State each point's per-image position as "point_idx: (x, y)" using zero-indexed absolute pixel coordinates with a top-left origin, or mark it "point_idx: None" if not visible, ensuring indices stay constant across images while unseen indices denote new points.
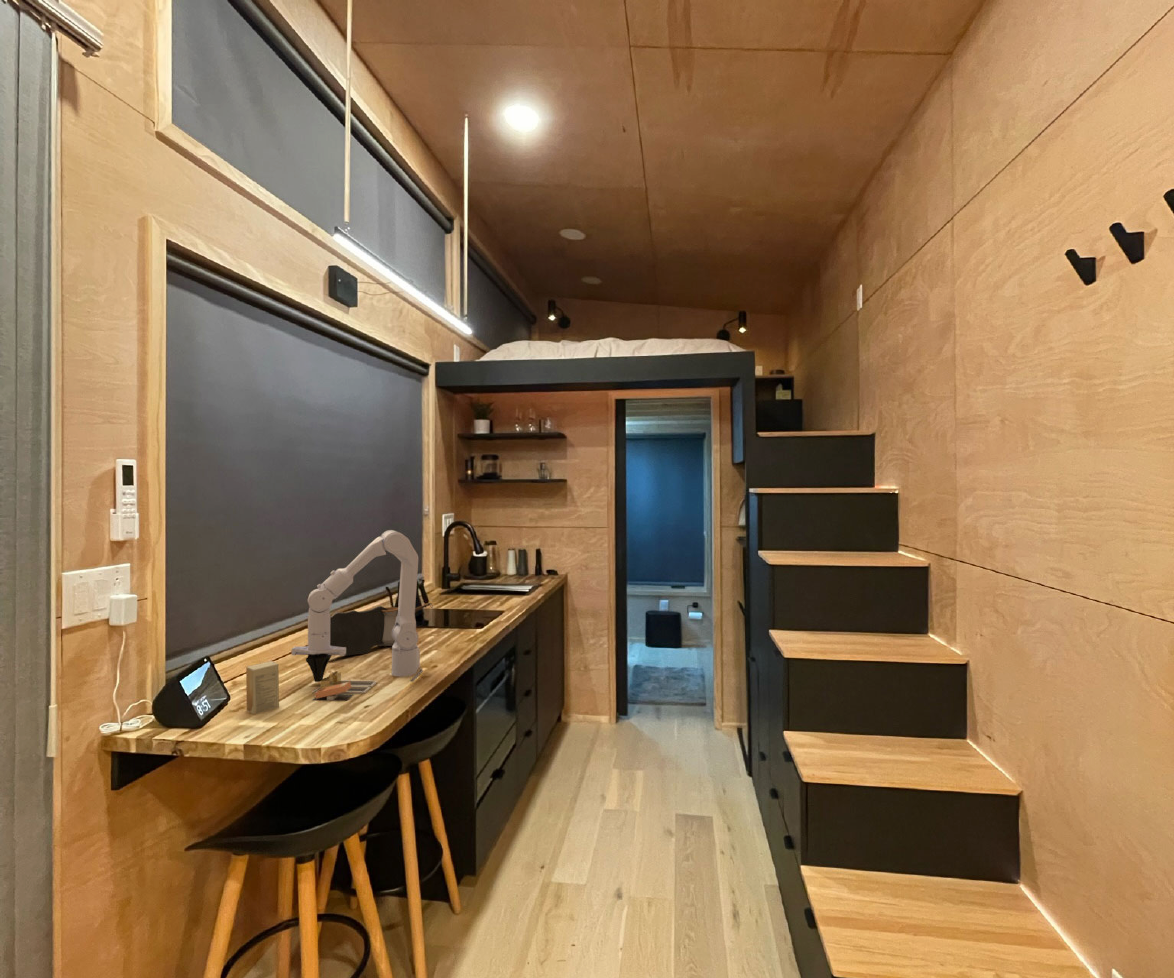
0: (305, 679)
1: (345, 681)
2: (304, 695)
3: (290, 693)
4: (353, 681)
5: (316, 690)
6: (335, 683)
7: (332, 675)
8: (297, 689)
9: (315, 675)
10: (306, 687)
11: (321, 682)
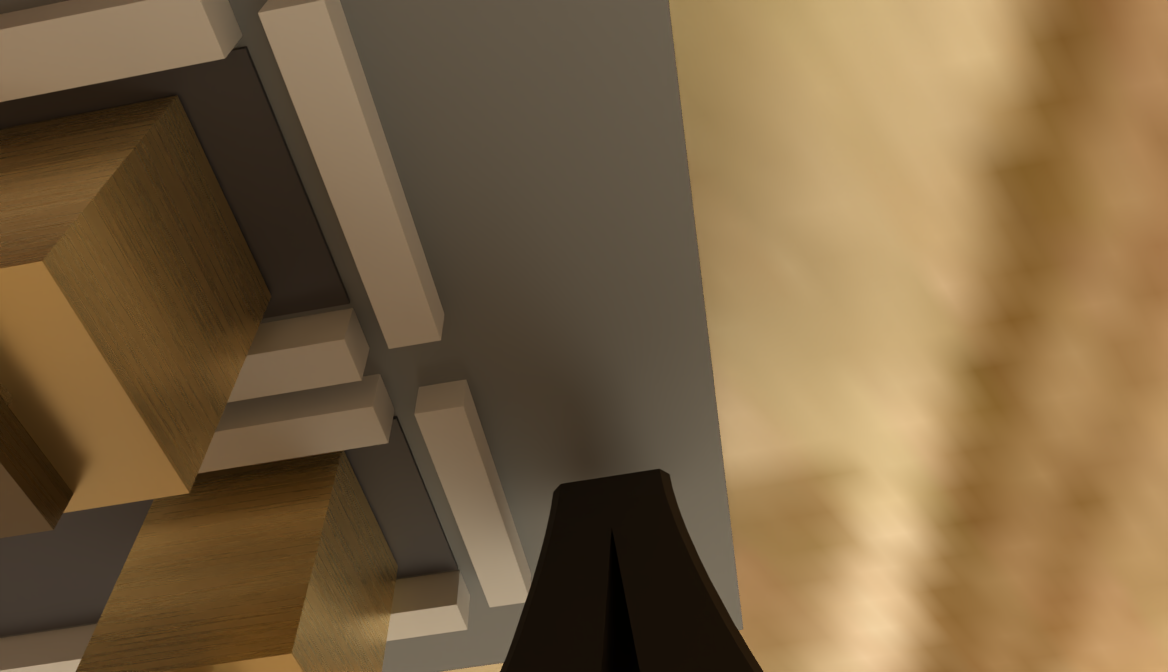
0: (1070, 647)
1: None
2: None
3: (1065, 87)
4: (25, 658)
5: (301, 109)
6: (182, 509)
7: (193, 657)
8: (1011, 310)
9: (634, 581)
10: (884, 419)
11: (31, 231)
